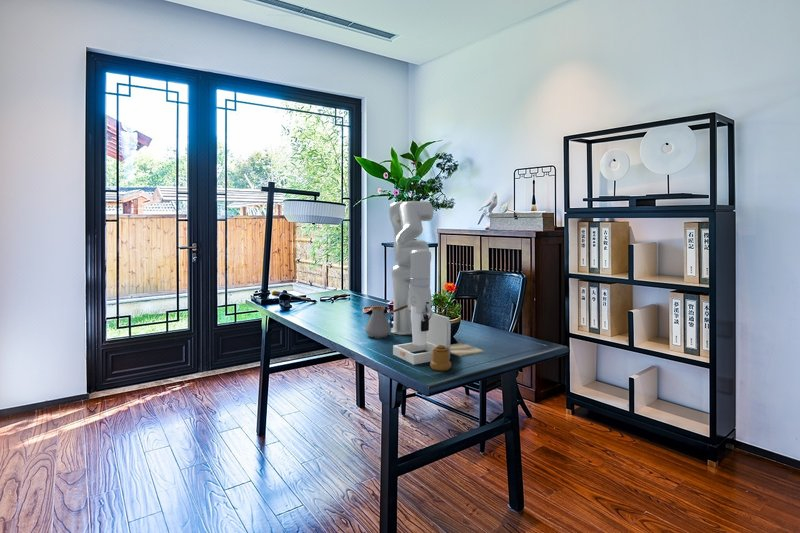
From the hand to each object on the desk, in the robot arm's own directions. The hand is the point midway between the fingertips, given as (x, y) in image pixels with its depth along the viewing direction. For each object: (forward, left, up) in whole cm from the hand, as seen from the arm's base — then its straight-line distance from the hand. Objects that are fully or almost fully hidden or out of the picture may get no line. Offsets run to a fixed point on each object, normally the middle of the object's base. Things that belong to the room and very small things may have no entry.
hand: (419, 328), depth 181 cm
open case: (+1, 0, -11) cm, 11 cm away
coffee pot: (-32, +5, -11) cm, 35 cm away
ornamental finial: (+16, -1, -11) cm, 20 cm away
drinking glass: (0, 0, -6) cm, 6 cm away
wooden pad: (+2, +19, -11) cm, 22 cm away
